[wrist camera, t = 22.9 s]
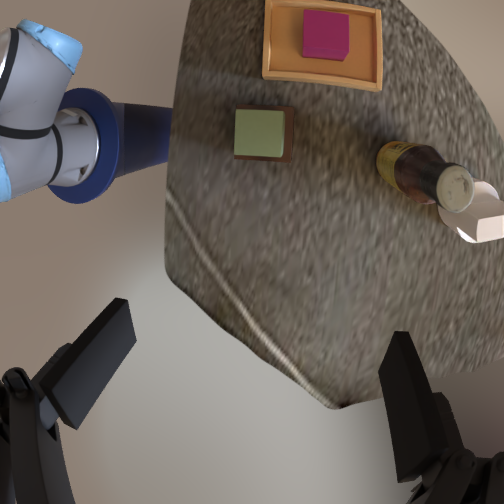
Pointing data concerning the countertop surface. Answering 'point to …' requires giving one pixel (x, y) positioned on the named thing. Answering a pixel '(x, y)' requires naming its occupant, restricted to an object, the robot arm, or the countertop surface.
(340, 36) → the mulberry block
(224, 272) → the countertop surface
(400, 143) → the sauce bottle
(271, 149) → the sage block
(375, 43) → the oak tray
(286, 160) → the walnut block
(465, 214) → the base with upright slab
